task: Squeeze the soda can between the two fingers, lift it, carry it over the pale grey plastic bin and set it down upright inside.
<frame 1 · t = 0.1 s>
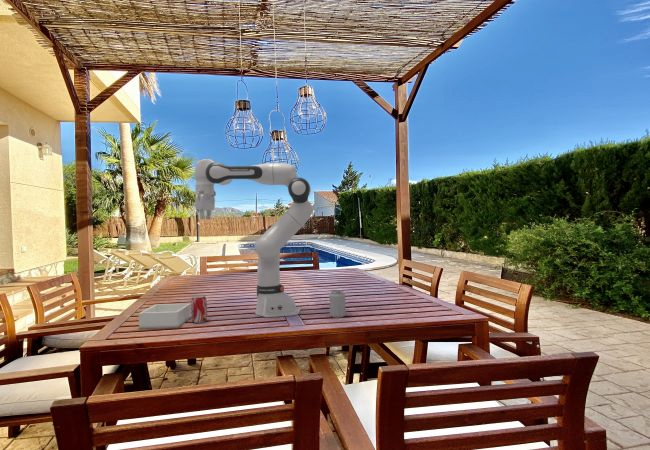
hand: (205, 219, 187), 48 cm above the table, tool pointing down, fingers open, 8 cm apart
bin: (166, 323, 174), on the table
soda can: (199, 322, 175), on the table
can: (337, 316, 180), on the table
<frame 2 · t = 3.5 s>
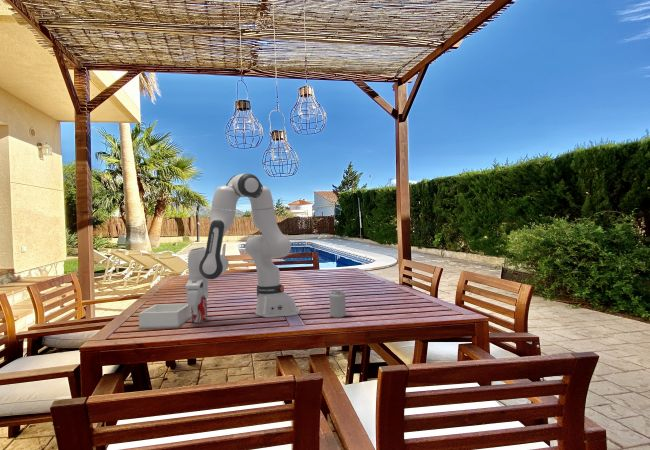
hand: (199, 311, 175), 5 cm above the table, tool pointing down, fingers open, 8 cm apart
nothing on the table moved.
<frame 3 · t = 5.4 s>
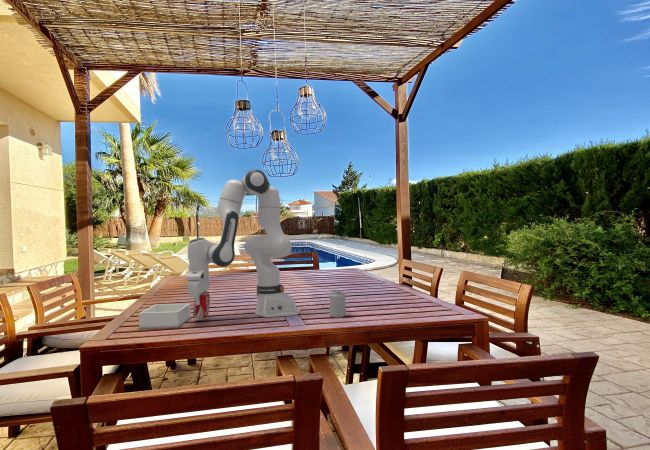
hand: (200, 302, 175), 9 cm above the table, tool pointing down, fingers closed on soda can, 7 cm apart
soda can: (200, 317, 176), point 2 cm above the table, touching gripper
everything else where it was.
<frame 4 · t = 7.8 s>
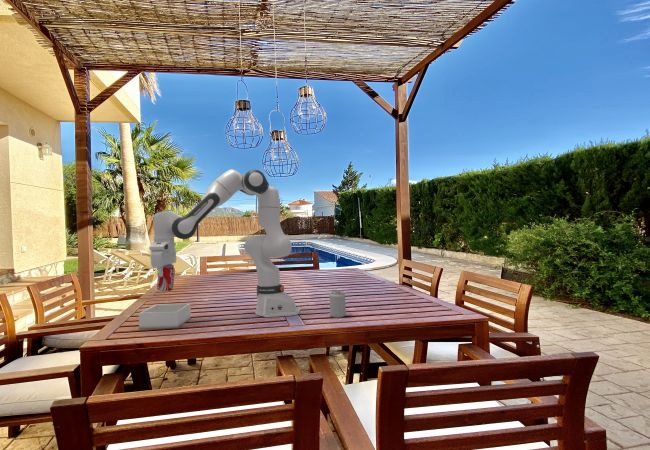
hand: (165, 275, 174), 22 cm above the table, tool pointing down, fingers closed on soda can, 7 cm apart
soda can: (164, 291, 174), point 15 cm above the table, touching gripper
everything else where it was.
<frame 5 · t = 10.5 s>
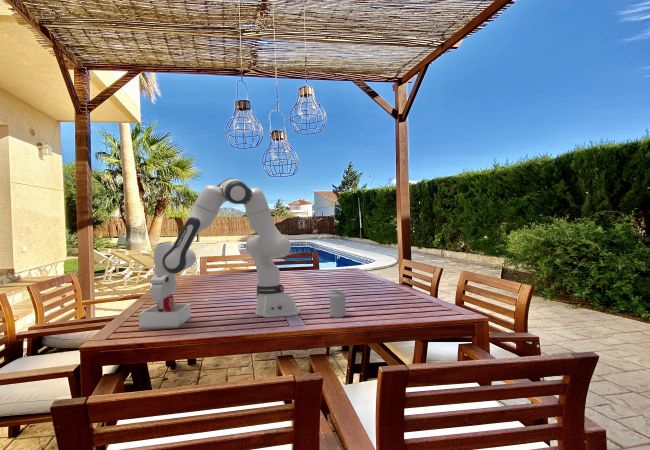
hand: (165, 306, 174), 8 cm above the table, tool pointing down, fingers closed on soda can, 7 cm apart
soda can: (165, 320, 174), point 1 cm above the table, touching bin, gripper
everything else where it was.
when the fingers open (8 cm above the table, at t = 11.4 s): soda can stays where it is, resting on bin.
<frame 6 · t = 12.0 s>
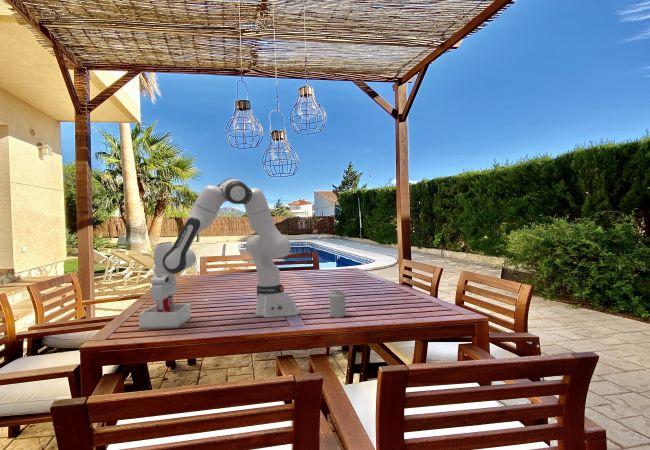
hand: (165, 306, 174), 8 cm above the table, tool pointing down, fingers open, 8 cm apart
soda can: (165, 321, 174), point 1 cm above the table, touching bin
everything else where it was.
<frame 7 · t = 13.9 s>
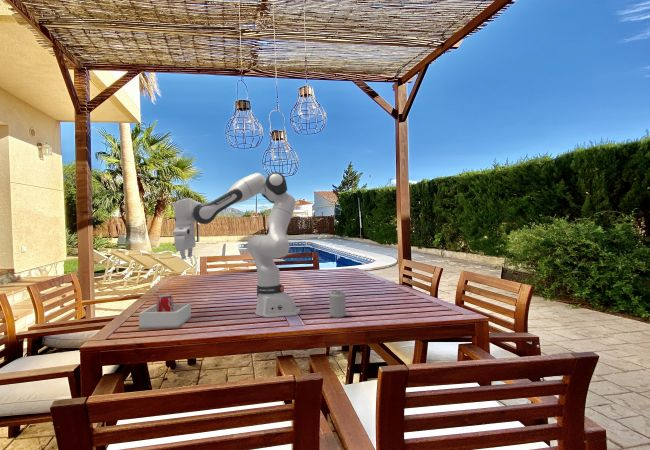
hand: (186, 258, 187), 29 cm above the table, tool pointing down, fingers open, 8 cm apart
nothing on the table moved.
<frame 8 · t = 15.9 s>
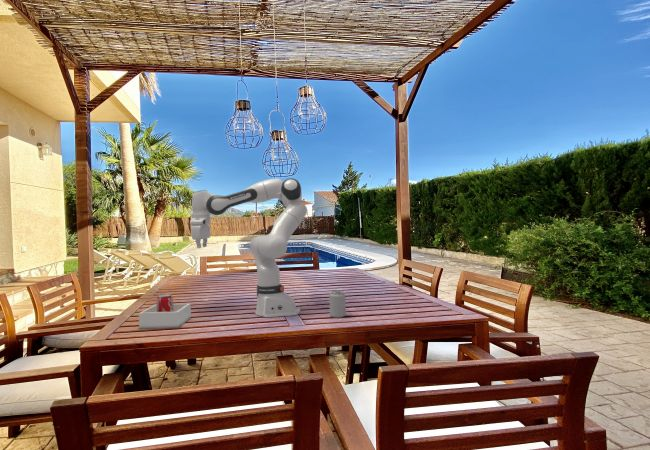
hand: (201, 247, 198), 33 cm above the table, tool pointing down, fingers open, 8 cm apart
nothing on the table moved.
at the end: soda can inside the target area on the bin (0.6 cm from its centre), point 0.8 cm above the bin's base; soda can tilted 0°; the gripper is holding nothing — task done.
